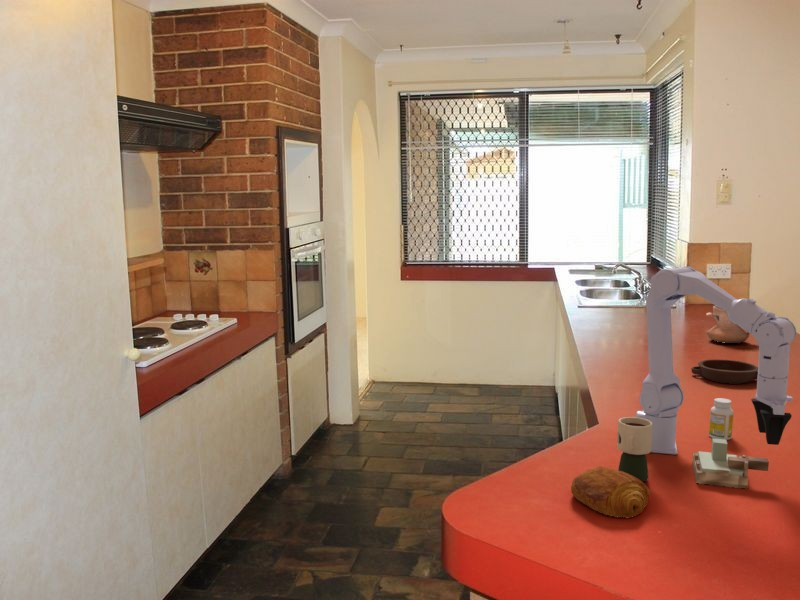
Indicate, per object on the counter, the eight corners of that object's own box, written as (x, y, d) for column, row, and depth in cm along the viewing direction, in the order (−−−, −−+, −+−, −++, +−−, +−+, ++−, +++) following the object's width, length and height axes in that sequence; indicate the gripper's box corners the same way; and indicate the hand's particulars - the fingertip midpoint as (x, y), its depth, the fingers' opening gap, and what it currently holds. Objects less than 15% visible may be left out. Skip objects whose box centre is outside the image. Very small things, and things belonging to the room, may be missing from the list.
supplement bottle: (715, 441, 188) (717, 403, 187) (704, 433, 194) (707, 397, 192) (736, 440, 189) (738, 403, 187) (724, 433, 194) (727, 396, 193)
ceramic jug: (702, 343, 300) (705, 308, 297) (705, 336, 312) (708, 302, 310) (752, 348, 292) (755, 312, 289) (753, 341, 305) (756, 306, 302)
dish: (766, 390, 234) (767, 374, 234) (689, 382, 243) (690, 367, 242) (763, 376, 250) (764, 362, 250) (691, 370, 259) (692, 356, 258)
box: (696, 483, 162) (697, 459, 161) (692, 463, 173) (693, 440, 172) (747, 489, 159) (749, 464, 158) (739, 468, 170) (741, 445, 169)
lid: (701, 471, 162) (703, 450, 161) (697, 454, 172) (699, 434, 171) (742, 476, 160) (744, 454, 159) (736, 458, 170) (737, 437, 169)
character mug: (622, 468, 171) (624, 412, 169) (654, 474, 167) (657, 417, 165) (609, 485, 161) (612, 426, 159) (644, 491, 158) (647, 431, 156)
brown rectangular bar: (728, 467, 161) (729, 458, 161) (727, 463, 163) (728, 454, 163) (768, 471, 159) (768, 462, 159) (766, 467, 161) (767, 458, 161)
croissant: (605, 535, 143) (610, 498, 141) (557, 494, 157) (561, 459, 155) (665, 520, 149) (670, 484, 147) (614, 481, 163) (618, 448, 160)
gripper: (803, 385, 151) (798, 450, 153) (784, 368, 165) (780, 428, 167) (764, 383, 153) (760, 448, 155) (749, 367, 167) (746, 426, 169)
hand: (768, 438), depth 161 cm, fingers open, 7 cm apart
